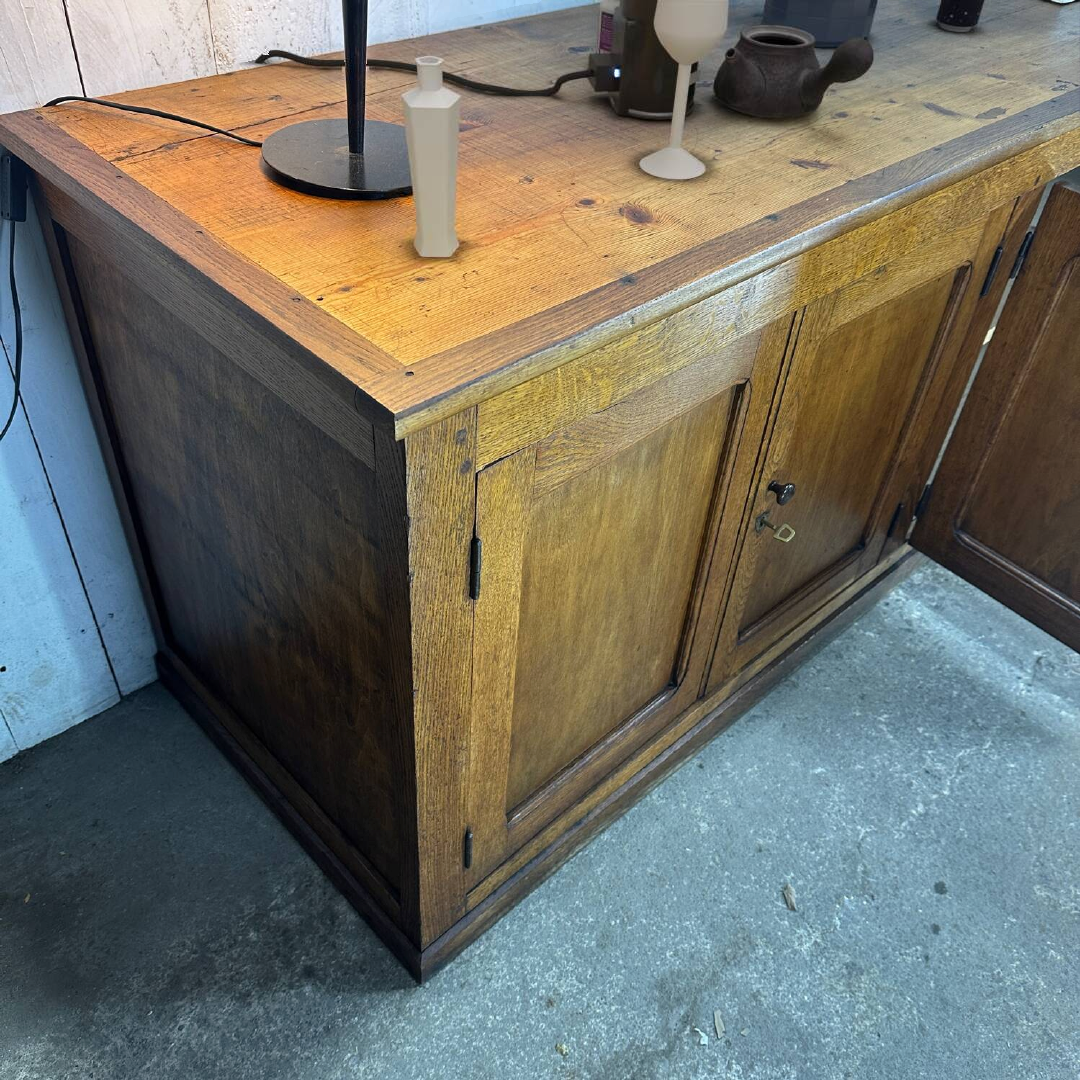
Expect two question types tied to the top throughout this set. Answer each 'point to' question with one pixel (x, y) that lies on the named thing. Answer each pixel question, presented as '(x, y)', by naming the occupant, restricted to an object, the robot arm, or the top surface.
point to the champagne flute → (684, 72)
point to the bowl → (823, 18)
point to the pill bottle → (605, 25)
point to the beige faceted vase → (433, 157)
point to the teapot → (784, 71)
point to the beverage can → (959, 14)
